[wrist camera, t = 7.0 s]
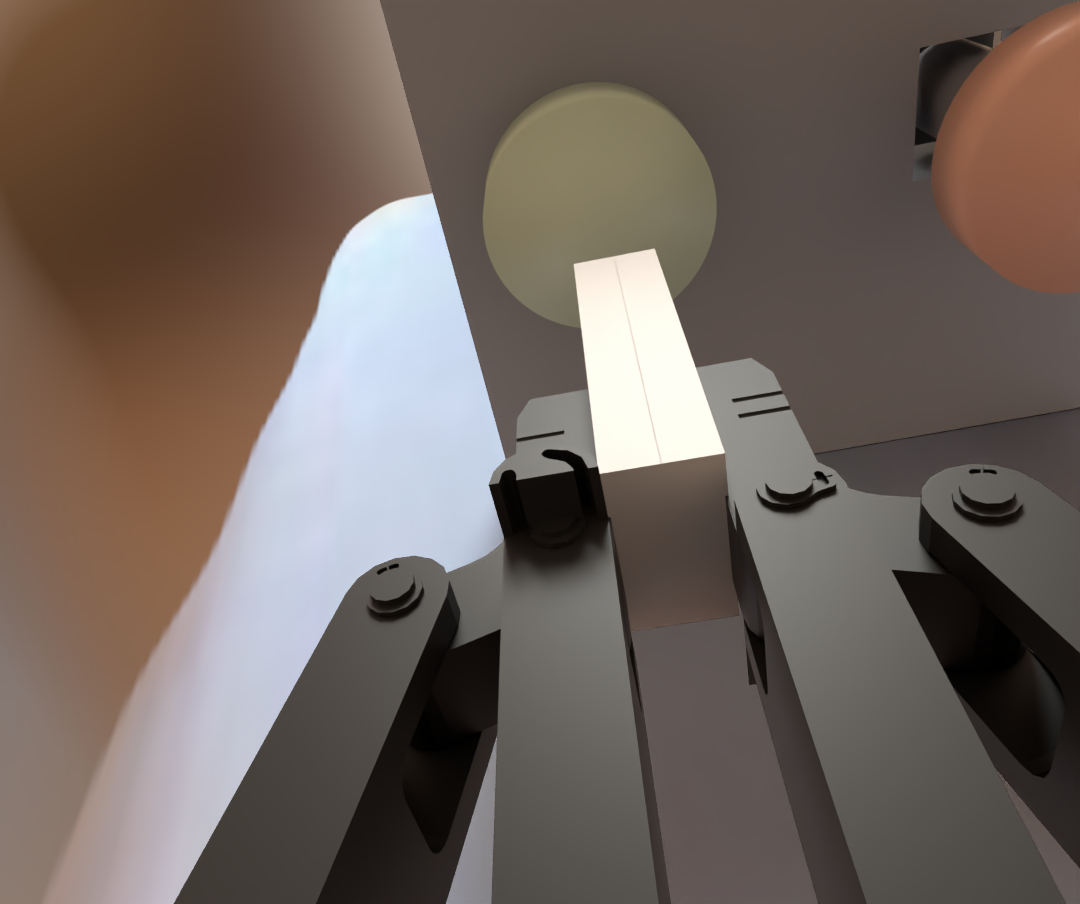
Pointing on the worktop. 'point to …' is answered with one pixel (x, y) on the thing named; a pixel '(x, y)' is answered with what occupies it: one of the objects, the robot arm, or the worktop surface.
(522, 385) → the panel
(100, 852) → the worktop surface
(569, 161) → the sage button
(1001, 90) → the terracotta button
